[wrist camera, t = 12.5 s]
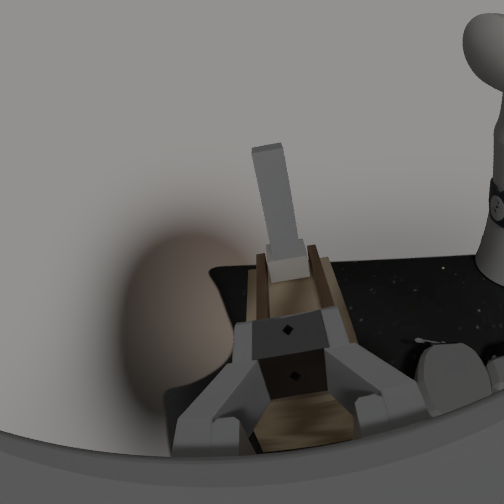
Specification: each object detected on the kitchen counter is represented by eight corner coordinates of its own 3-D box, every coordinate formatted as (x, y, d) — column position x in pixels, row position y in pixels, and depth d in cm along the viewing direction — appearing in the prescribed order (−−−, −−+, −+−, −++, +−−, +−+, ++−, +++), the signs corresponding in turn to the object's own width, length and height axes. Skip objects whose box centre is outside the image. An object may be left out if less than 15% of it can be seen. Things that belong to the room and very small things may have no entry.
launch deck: (332, 311, 44) (326, 242, 39) (364, 436, 26) (372, 369, 21) (261, 323, 45) (245, 256, 40) (263, 452, 28) (237, 390, 22)
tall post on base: (305, 258, 40) (286, 139, 33) (310, 276, 36) (290, 146, 29) (270, 264, 40) (245, 147, 33) (271, 283, 37) (244, 155, 30)
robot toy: (508, 352, 29) (404, 361, 33) (521, 326, 27) (411, 333, 31) (533, 432, 19) (412, 454, 23) (554, 408, 17) (425, 432, 21)
